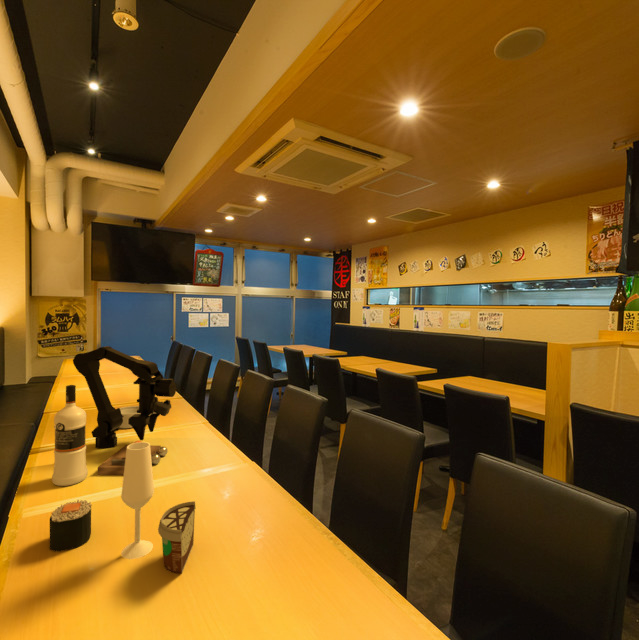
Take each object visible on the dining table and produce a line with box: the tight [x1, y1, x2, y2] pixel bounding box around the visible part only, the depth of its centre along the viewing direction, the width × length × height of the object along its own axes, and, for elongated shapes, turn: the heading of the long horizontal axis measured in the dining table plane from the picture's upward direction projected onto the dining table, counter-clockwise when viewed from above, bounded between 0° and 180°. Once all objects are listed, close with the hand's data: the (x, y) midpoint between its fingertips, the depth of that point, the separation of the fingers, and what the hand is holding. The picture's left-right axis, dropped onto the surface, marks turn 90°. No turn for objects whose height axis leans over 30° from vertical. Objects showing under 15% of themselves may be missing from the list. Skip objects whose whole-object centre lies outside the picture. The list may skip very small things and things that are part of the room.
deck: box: [97, 444, 162, 476], centre depth 130 cm, size 13×19×4 cm
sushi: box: [49, 499, 93, 552], centre depth 87 cm, size 8×8×8 cm
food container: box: [157, 501, 196, 575], centre depth 81 cm, size 12×6×10 cm, turn 5°
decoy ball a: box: [158, 446, 169, 457], centre depth 136 cm, size 3×3×3 cm
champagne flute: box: [120, 441, 155, 560], centre depth 84 cm, size 7×7×24 cm
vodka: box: [51, 384, 89, 487], centre depth 115 cm, size 9×9×30 cm
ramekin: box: [119, 405, 140, 429], centre depth 170 cm, size 13×13×7 cm
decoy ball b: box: [151, 454, 161, 465], centre depth 129 cm, size 3×3×3 cm
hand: (146, 435), depth 142 cm, fingers open, 9 cm apart
